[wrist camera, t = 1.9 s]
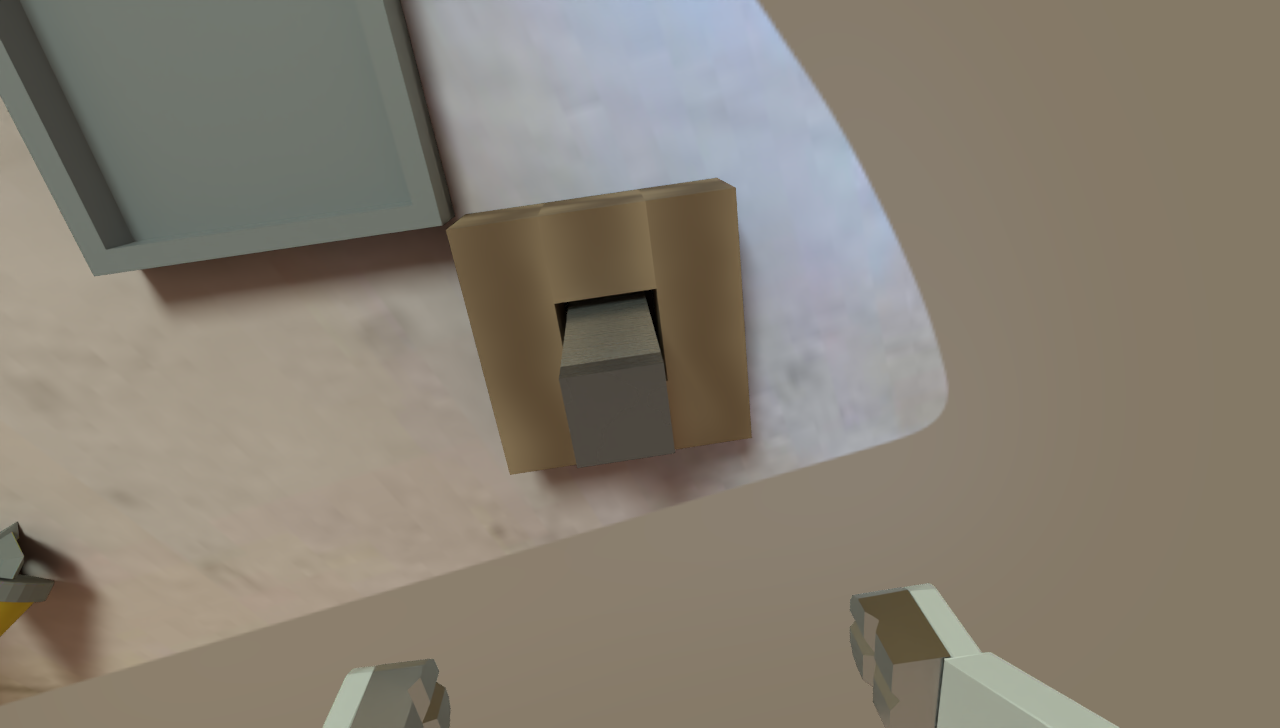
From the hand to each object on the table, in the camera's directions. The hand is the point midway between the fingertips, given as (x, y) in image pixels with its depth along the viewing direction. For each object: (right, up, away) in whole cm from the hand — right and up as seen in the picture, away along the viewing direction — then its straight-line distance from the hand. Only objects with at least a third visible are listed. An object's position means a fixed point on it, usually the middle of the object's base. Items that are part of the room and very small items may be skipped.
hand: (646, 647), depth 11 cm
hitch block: (-2, +8, +19) cm, 20 cm away
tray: (-17, +18, +13) cm, 28 cm away
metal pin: (-2, +8, +19) cm, 20 cm away
